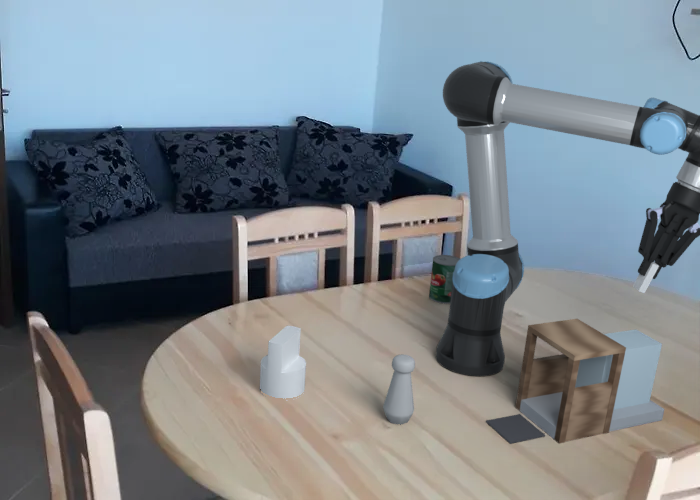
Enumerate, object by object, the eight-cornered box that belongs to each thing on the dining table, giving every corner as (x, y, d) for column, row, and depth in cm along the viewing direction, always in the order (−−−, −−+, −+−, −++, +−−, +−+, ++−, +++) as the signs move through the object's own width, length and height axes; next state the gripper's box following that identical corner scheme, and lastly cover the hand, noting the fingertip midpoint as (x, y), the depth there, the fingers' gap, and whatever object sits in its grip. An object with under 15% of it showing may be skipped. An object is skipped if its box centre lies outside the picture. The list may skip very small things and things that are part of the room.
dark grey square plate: (519, 415, 153) (519, 413, 152) (545, 436, 146) (545, 435, 146) (485, 421, 149) (485, 420, 149) (510, 443, 142) (510, 442, 142)
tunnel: (562, 398, 160) (577, 318, 155) (608, 432, 149) (626, 347, 143) (515, 407, 155) (528, 325, 150) (559, 443, 144) (574, 355, 138)
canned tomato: (463, 299, 209) (468, 260, 206) (447, 306, 204) (451, 266, 200) (439, 290, 214) (444, 252, 211) (422, 297, 209) (427, 258, 205)
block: (624, 386, 162) (636, 329, 158) (649, 402, 156) (662, 343, 152) (571, 396, 156) (582, 337, 152) (595, 413, 150) (607, 352, 146)
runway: (615, 389, 166) (618, 379, 165) (662, 420, 155) (664, 409, 154) (516, 408, 155) (518, 397, 154) (558, 442, 144) (560, 430, 143)
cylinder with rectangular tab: (293, 404, 150) (296, 348, 146) (251, 393, 153) (253, 338, 149) (311, 384, 158) (315, 331, 155) (271, 374, 161) (274, 321, 157)
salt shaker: (390, 429, 144) (396, 366, 140) (377, 413, 149) (383, 352, 145) (418, 424, 147) (425, 362, 142) (404, 409, 152) (410, 349, 147)
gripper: (674, 182, 152) (619, 287, 159) (729, 203, 154) (673, 305, 161) (656, 172, 159) (604, 273, 166) (709, 192, 161) (656, 291, 168)
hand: (638, 289), depth 164 cm, fingers closed
